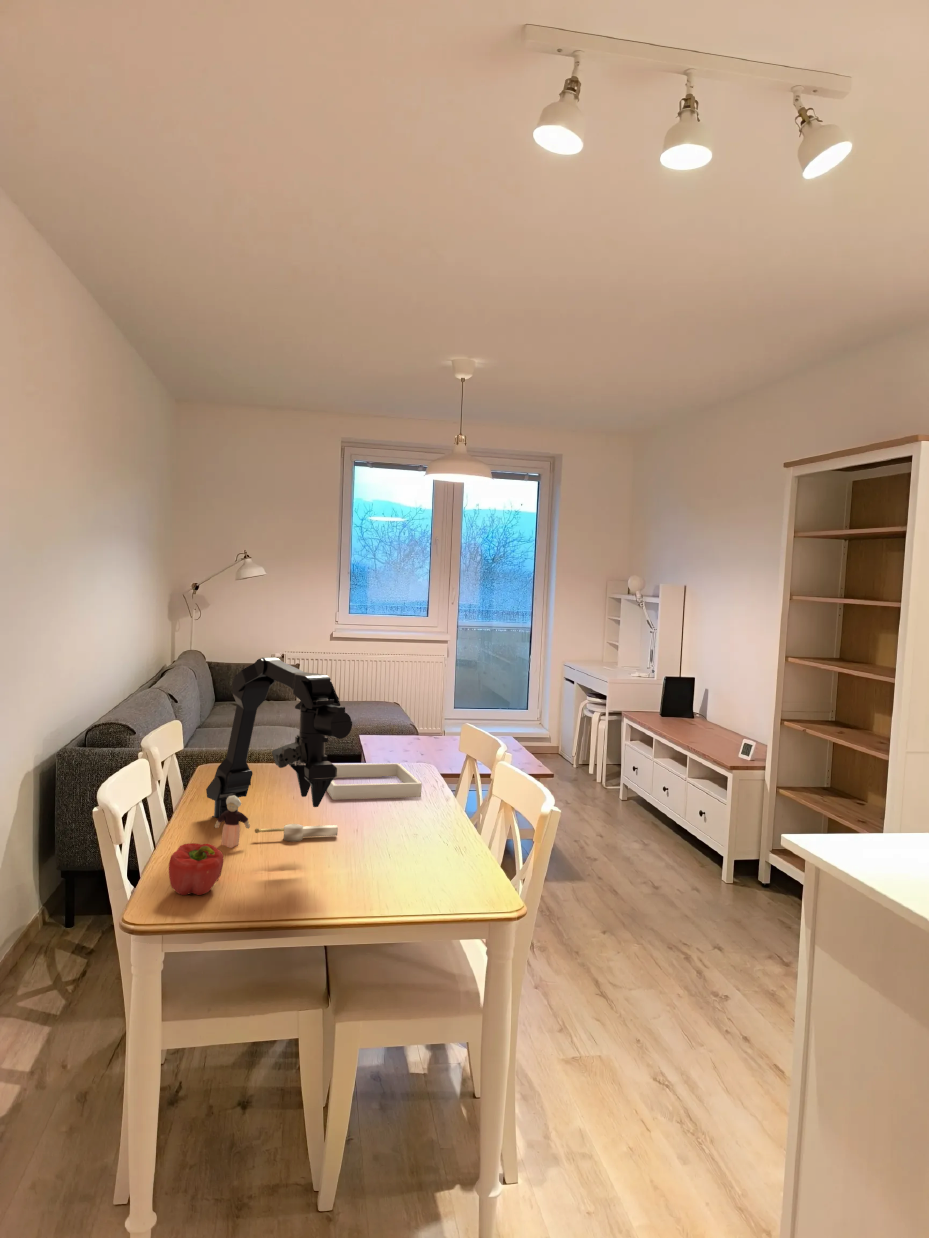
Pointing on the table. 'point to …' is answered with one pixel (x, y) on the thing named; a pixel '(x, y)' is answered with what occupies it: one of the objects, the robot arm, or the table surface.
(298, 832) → the beige dial pointer lever
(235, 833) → the grandmother figurine
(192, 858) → the vegetable
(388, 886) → the table surface
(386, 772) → the tray
